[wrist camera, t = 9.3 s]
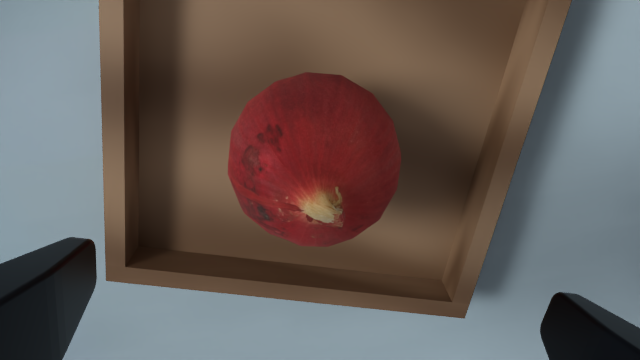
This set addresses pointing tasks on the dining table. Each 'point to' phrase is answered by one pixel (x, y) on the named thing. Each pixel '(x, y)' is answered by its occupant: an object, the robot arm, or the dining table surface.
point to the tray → (328, 58)
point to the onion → (314, 159)
